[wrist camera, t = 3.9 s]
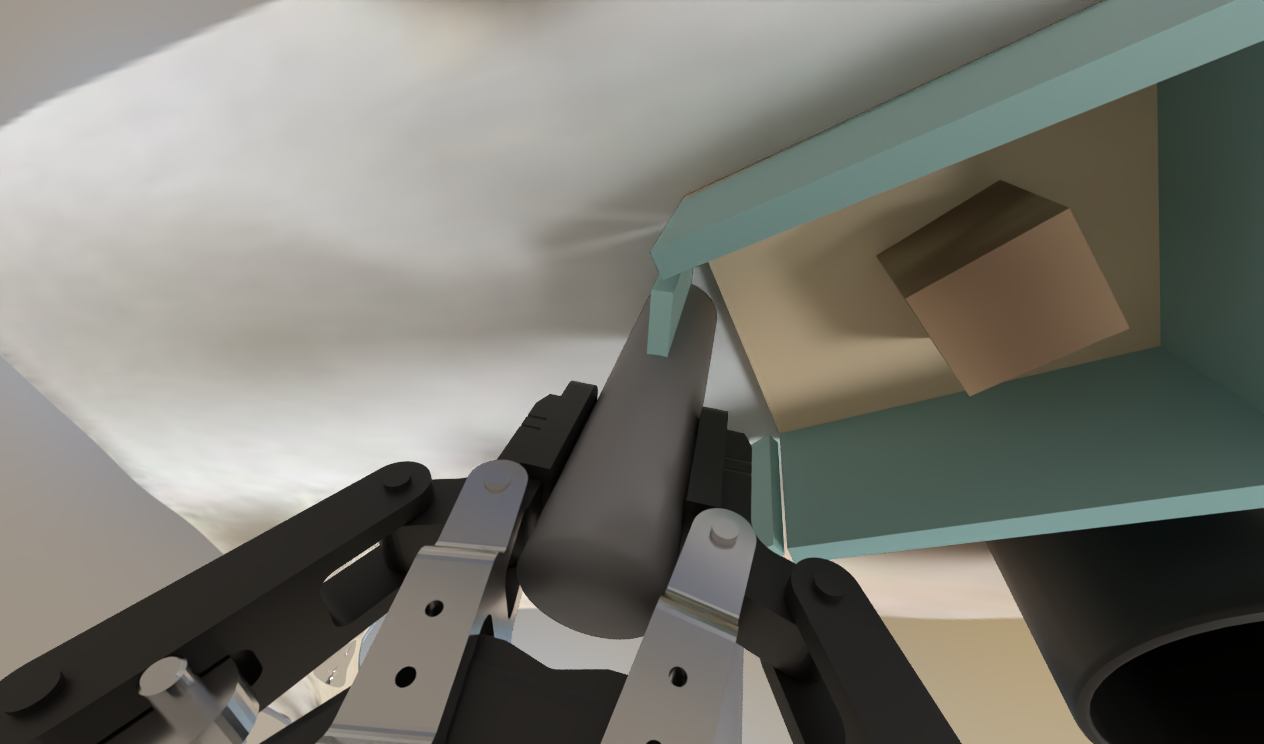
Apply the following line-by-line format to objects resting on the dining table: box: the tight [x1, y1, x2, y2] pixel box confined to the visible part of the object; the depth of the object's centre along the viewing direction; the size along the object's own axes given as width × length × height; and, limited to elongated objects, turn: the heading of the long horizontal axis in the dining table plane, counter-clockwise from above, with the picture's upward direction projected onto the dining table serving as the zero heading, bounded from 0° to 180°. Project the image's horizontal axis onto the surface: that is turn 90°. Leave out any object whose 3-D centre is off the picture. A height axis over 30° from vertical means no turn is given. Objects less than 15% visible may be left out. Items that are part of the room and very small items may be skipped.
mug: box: [986, 508, 1264, 744], centre depth 16 cm, size 9×12×9 cm
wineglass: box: [246, 620, 378, 744], centre depth 26 cm, size 8×8×18 cm
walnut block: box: [876, 180, 1129, 396], centre depth 15 cm, size 4×4×4 cm
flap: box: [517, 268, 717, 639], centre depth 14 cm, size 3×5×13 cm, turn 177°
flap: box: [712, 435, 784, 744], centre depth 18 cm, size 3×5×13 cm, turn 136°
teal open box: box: [650, 0, 1264, 564], centre depth 14 cm, size 14×12×7 cm
